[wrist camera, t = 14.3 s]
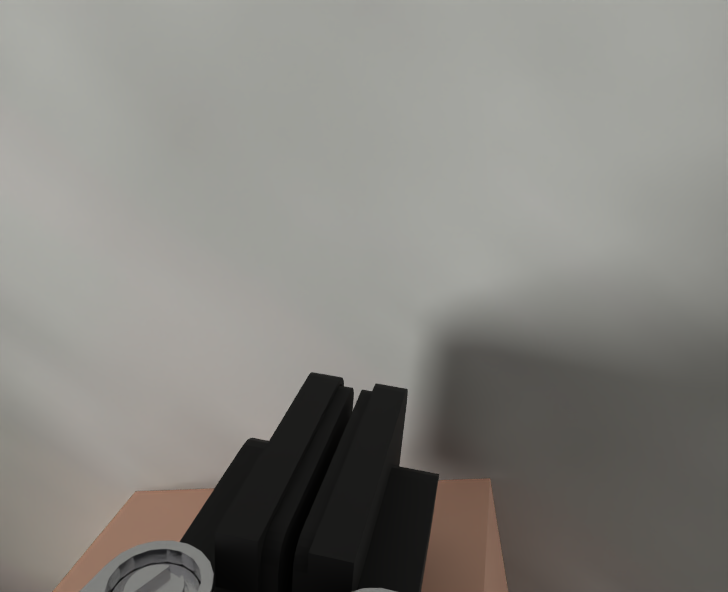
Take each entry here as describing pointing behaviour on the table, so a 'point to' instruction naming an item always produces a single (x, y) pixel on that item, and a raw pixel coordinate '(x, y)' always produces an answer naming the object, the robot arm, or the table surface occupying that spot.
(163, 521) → the terracotta block
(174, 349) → the table surface
